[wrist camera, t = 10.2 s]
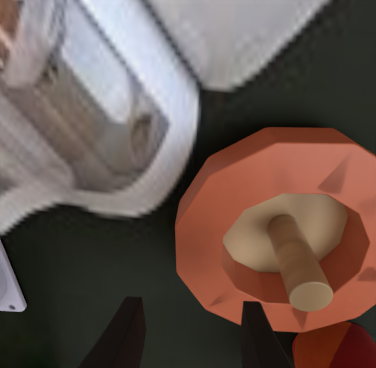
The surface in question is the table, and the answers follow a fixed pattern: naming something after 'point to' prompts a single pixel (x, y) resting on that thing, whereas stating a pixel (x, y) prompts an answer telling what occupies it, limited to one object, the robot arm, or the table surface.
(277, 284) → the ring
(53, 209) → the table surface
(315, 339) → the coffee cup
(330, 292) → the post
